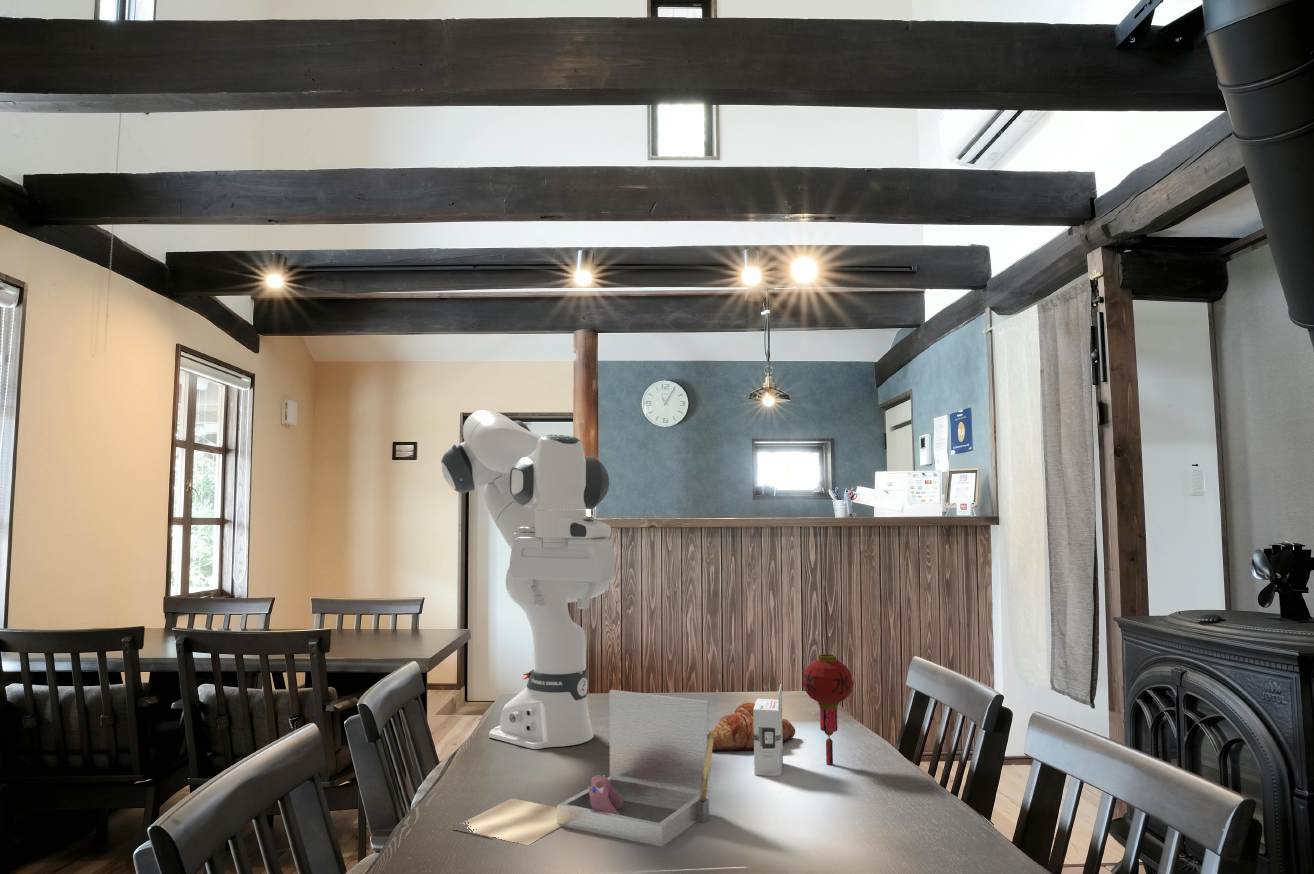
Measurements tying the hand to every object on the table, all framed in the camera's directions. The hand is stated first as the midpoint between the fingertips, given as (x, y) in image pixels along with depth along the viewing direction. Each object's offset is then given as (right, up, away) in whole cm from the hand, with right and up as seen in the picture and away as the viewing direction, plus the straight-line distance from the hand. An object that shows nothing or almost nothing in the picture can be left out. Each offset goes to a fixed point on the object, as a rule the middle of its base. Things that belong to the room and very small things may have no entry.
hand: (560, 607), depth 144 cm
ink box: (+37, -32, +9) cm, 50 cm away
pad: (-4, -30, -17) cm, 35 cm away
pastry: (+36, -34, +26) cm, 55 cm away
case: (+13, -30, -16) cm, 36 cm away
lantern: (+49, -32, +12) cm, 60 cm away
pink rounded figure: (+10, -30, -16) cm, 35 cm away
